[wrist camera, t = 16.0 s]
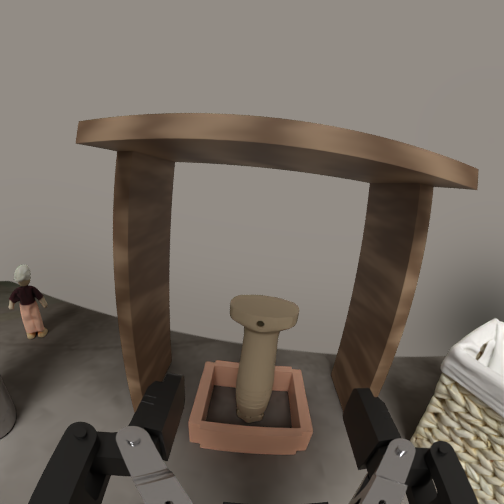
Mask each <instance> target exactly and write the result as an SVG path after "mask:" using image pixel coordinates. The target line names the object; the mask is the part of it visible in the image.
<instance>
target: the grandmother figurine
mask: <svg viewBox="0 0 504 504" xmlns="http://www.w3.org/2000/svg"><path fill="white" fill-rule="evenodd" d="M30 275H31V273H30V269H29V267H28V266H27V265H20V266H19V267H18V268H17V269H16V271H15V274H14V278H15V279H14V280H16V281H17V282H18V283H19V285H20V286H21V287H19V288H16V289H15V290H14V291H13V292H12V294H11V296H10V298H9V299H10V302H9V303H10V304H9V309H10V310H13V309H14V304H15V303H16V302H18V301H20V310H21V315H22V320H23V323H24V326H25V329H26V332H27V337H28V338H29V339H33V338H35V335H36V332H37V331H38V337H44V336H45V335H46V334H47V332H48V330H47V329H46V328H45V327H44V325H43V322H42V318H41V315H40V311H39V308H38V304H37V302H36V301H35V297H36V298H37V299H38V300H39V301H40V303H41V304H42V306H43V307H44V308H46V307H47V306H48V304H47V303H46V302H45V299H44V297H43V295H42V294H41V293H40V291H39V290H38V289H36V288H35V287H33V286H28V284H29V283H30V278H31V277H30Z"/></svg>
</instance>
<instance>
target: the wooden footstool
mask: <svg viewBox="0 0 504 504" xmlns="http://www.w3.org/2000/svg"><path fill="white" fill-rule="evenodd" d="M76 144H82V145H87V146H93V147H98V148H103V149H109V150H113V151H117V159H116V171H115V185H114V205H113V206H114V207H113V258H114V280H115V294H116V305H117V315H118V324H119V332H120V340H121V346H122V353H123V359H124V365H125V370H126V376H127V381H128V386H129V391H130V395H131V400H132V404H133V408H134V412H136V410H137V408H138V406H139V404H140V402H141V400H142V398H143V396H144V394H145V392H146V390H147V388H148V386H149V385H151V384H152V383H153V382H155V381H160V382H162V380H163V378H164V376H165V374H166V372H167V370H168V368H169V366H170V363H171V361H172V358H171V340H170V310H169V257H170V255H169V254H170V226H171V206H172V191H173V179H174V178H173V177H174V167H175V162H192V163H212V164H227V165H241V166H252V167H262V168H272V169H281V170H290V171H298V172H305V173H313V174H320V175H326V176H333V177H339V178H345V179H351V180H356V181H362V182H367V183H370V187H369V197H368V204H367V213H366V220H365V228H364V233H363V240H362V246H361V252H360V257H359V263H358V268H357V273H356V278H355V283H354V288H353V293H352V297H351V302H350V306H349V311H348V315H347V319H346V323H345V327H344V331H343V335H342V339H341V342H340V346H339V349H338V353H337V356H336V360H335V363H334V367H333V370H332V373H331V377H332V380H333V383H334V386H335V389H336V392H337V394H338V397H339V400H340V403H341V406H342V409H343V412H344V409H345V406H346V404H347V402H348V400H349V397H350V395H351V393H352V390H353V389H354V388H370V390H371V392H372V394H373V396H374V397H378V395H379V393H380V390H381V388H382V386H383V384H384V381H385V379H386V376H387V374H388V372H389V369H390V367H391V364H392V361H393V359H394V356H395V353H396V351H397V348H398V345H399V342H400V339H401V337H402V333H403V330H404V327H405V324H406V321H407V318H408V315H409V311H410V308H411V304H412V300H413V297H414V293H415V290H416V285H417V282H418V277H419V273H420V268H421V264H422V259H423V255H424V250H425V244H426V239H427V232H428V227H429V220H430V213H431V205H432V196H433V187H445V188H459V189H472V190H477V186H478V169H476V168H474V167H472V166H469V165H467V164H464V163H462V162H459V161H457V160H454V159H451V158H449V157H446V156H443V155H440V154H437V153H434V152H431V151H428V150H425V149H422V148H419V147H416V146H412V145H409V144H406V143H402V142H398V141H395V140H391V139H387V138H384V137H380V136H376V135H372V134H367V133H363V132H359V131H354V130H349V129H344V128H339V127H334V126H328V125H323V124H317V123H310V122H303V121H296V120H289V119H281V118H272V117H271V118H270V117H261V116H250V115H235V114H212V113H211V114H210V113H166V114H144V115H129V116H118V117H108V118H100V119H92V120H85V121H79V124H78V130H77V138H76Z"/></svg>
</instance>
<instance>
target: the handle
mask: <svg viewBox="0 0 504 504" xmlns="http://www.w3.org/2000/svg"><path fill="white" fill-rule="evenodd" d="M298 314H299V307H298V306H297V305H296V304H295V303H293V302H290V301H287V300H284V299H280V298H276V297H270V296H263V295H239V296H236V297H234V298H233V299H232V300H231V303H230V316H231V318H232V319H233V320H235V321H236V322H238V323H240V324H241V325H243V326H244V339H243V345H242V352H241V358H240V363H239V369H238V374H237V381H236V403H237V407H238V409H237V416H238V417H239V418H241V419H243V420H244V421H245V422H246V423H251V422H254V421H261V420H262V418H263V416H264V411H265V409H266V407H267V405H268V403H269V400H270V396H271V393H272V388H273V382H274V372H275V361H276V352H277V342H278V336H279V333H280V331H282V330H286V329H290V328H292V327H294V326H295V324H296V323H297V319H298Z"/></svg>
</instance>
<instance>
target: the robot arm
mask: <svg viewBox="0 0 504 504" xmlns="http://www.w3.org/2000/svg"><path fill="white" fill-rule="evenodd" d="M184 404H185V386H184V375H179V374H173V373H167V375H166V377H165V379H164V381H163V382H160V381H155V382H153V383H152V384H151V385H149V386H148V388H147V390H146V392H145V394H144V396H143V398H142V400H141V402H140V404H139V406H138V408H137V410H136V412H135V414H134V416H133V418H132V420H131V422H130V424H129V426H127V427H124V428H122V429H120V430H119V431H118V432H114V433H110V432H97V431H96V430H95V428H94V427H93V426H92V425H90V424H88V423H85V422H76V423H73V424H71V425H70V426H69V427H68V428H67V429H66V431H65V433H64V435H63V436H62V438H61V440H60V442H59V444H58V445H57V447H56V449H55V451H54V453H53V455H52V457H51V458H50V460H49V462H48V464H47V466H46V468H45V470H44V472H43V474H42V476H41V478H40V480H39V482H38V484H37V486H36V488H35V490H34V492H33V494H32V496H31V499H30V501H29V503H28V504H101V503H102V500H103V497H104V494H105V491H106V488H107V485H108V482H109V479H110V476H111V475H117V476H131V477H132V479H133V481H134V483H135V485H136V487H137V489H138V491H139V493H140V495H141V497H142V499H143V501H144V503H145V504H193V502H192V501H191V499H190V498H189V497H188V495H187V494H186V492H185V491H184V489H183V488H182V486H181V485H180V483H179V482H178V480H177V478H176V477H175V475H174V474H173V473H172V472H171V471H169V470H168V468H167V467H166V465H165V463H164V461H163V460H165V461H168V459H169V455H170V452H171V449H172V445H173V442H174V439H175V435H176V432H177V429H178V426H179V422H180V419H181V416H182V413H183V409H184ZM15 419H16V409H15V406H14V403H13V401H12V399H11V397H10V395H9V393H8V391H7V389H6V387H5V385H4V382H3V380H2V378H1V375H0V438H2V437H3V436H5V435H6V434H7V433H8V432H9V431H10V430H11V428H12V427H13V425H14V423H15ZM343 421H344V424H345V427H346V431H347V434H348V437H349V440H350V444H351V447H352V450H353V454H354V457H355V460H356V464H357V467H358V470H361V469H367V471H368V473H367V474H366V475H365V477H364V479H363V481H362V482H361V484H360V486H359V488H358V489H357V491H356V493H355V494H354V496H353V498H352V499H351V501H350V502H349V504H401V502H402V500H403V497H404V495H405V492H406V495H407V498H408V502H409V504H479V503H478V500H477V498H476V496H475V493H474V491H473V489H472V486H471V484H470V482H469V480H468V478H467V475H466V473H465V471H464V469H463V467H462V465H461V463H460V461H459V459H458V457H457V455H456V453H455V451H454V449H453V447H452V446H451V445H450V444H449V443H448V442H445V441H436V442H434V443H433V444H432V445H431V447H430V448H418V447H415V446H414V445H413V444H412V443H411V442H410V441H409V440H406V439H402V438H401V436H400V434H399V432H398V430H397V428H396V426H395V424H394V422H393V419H392V418H391V415H390V413H389V412H388V409H387V407H386V405H385V403H384V402H383V401H382V400H380V399H379V398H378V397H374V396H373V394H372V392H371V390H370V388H354V389H353V390H352V393H351V395H350V397H349V400H348V402H347V404H346V406H345V409H344V412H343ZM432 479H433V480H434V483H435V485H436V488H437V492H436V489H435V486H434V484H433V481H432ZM223 504H241V503H230V502H223ZM311 504H328V502H323V503H311Z"/></svg>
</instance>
